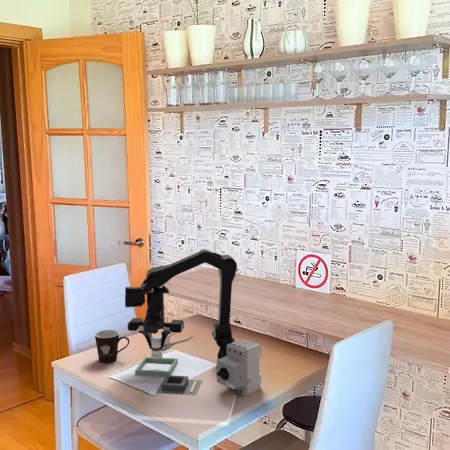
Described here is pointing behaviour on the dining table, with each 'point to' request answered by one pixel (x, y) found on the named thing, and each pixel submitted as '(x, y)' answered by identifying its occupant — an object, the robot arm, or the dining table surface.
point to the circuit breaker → (240, 367)
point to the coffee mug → (108, 345)
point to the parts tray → (156, 373)
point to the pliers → (168, 344)
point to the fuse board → (179, 385)
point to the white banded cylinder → (156, 347)
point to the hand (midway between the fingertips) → (156, 348)
